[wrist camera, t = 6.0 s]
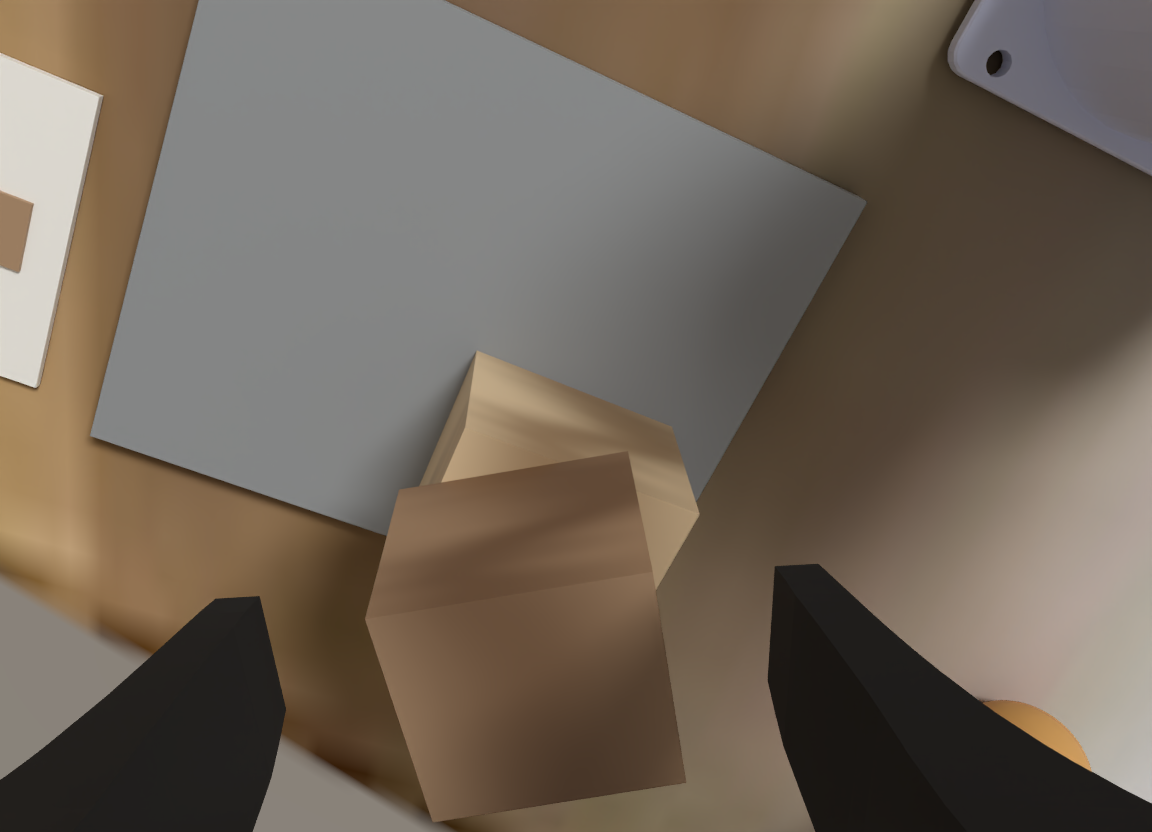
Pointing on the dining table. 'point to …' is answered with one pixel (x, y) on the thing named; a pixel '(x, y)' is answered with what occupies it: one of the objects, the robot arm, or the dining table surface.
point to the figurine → (1041, 728)
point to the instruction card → (37, 204)
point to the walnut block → (525, 639)
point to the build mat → (438, 250)
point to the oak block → (564, 444)
